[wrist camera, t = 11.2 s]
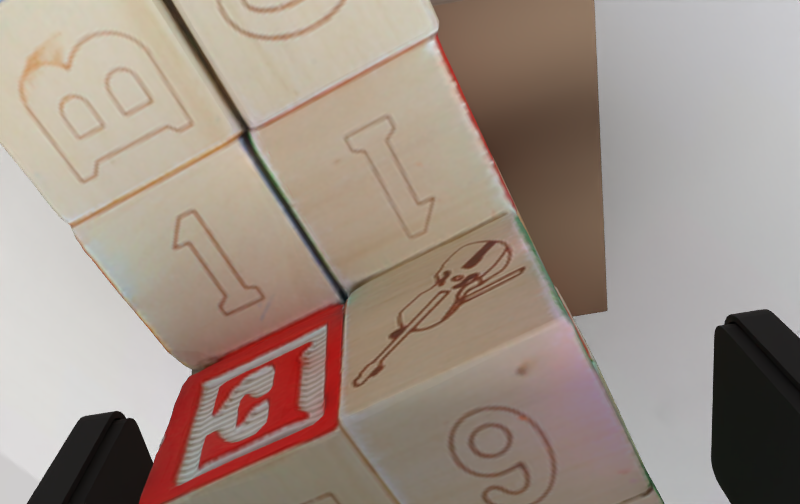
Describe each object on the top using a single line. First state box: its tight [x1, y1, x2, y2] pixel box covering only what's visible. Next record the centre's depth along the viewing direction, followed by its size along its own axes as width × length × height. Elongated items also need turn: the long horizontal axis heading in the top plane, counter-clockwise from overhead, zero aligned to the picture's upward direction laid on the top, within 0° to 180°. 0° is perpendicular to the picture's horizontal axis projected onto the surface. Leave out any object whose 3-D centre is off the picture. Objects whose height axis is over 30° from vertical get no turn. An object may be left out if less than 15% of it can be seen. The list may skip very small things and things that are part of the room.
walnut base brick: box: [430, 0, 607, 317], centre depth 22 cm, size 10×12×5 cm
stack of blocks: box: [0, 0, 664, 504], centre depth 14 cm, size 21×6×12 cm, turn 26°
